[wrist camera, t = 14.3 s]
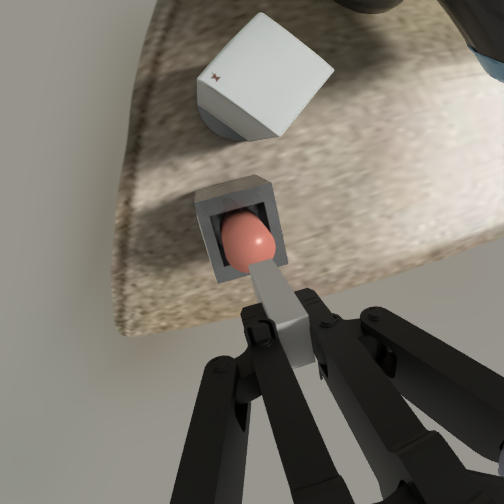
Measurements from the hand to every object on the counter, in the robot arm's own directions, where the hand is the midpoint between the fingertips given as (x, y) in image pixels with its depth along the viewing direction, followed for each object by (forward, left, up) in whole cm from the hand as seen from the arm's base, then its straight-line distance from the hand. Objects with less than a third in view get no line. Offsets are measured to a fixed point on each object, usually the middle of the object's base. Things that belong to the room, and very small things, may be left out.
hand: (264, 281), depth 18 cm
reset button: (0, 0, -13) cm, 13 cm away
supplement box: (-13, +4, -17) cm, 22 cm away
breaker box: (0, 0, -18) cm, 18 cm away
